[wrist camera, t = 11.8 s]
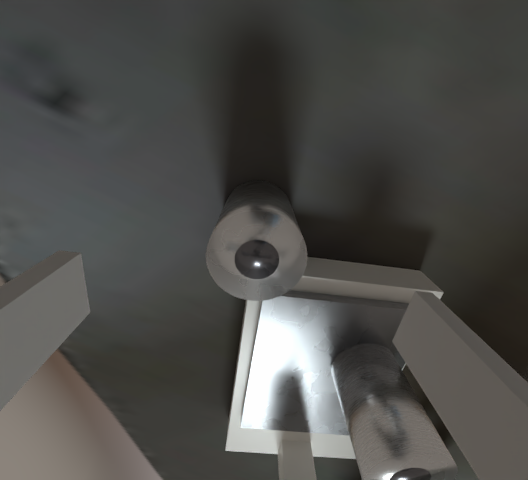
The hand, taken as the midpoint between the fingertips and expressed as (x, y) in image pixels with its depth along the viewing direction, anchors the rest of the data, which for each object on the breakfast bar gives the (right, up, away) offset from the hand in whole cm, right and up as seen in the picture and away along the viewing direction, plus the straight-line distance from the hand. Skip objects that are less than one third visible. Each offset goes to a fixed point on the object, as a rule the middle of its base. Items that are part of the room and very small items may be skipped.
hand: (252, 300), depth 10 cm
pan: (+5, -8, +11) cm, 15 cm away
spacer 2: (+8, -8, +10) cm, 15 cm away
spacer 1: (0, +4, +9) cm, 10 cm away
